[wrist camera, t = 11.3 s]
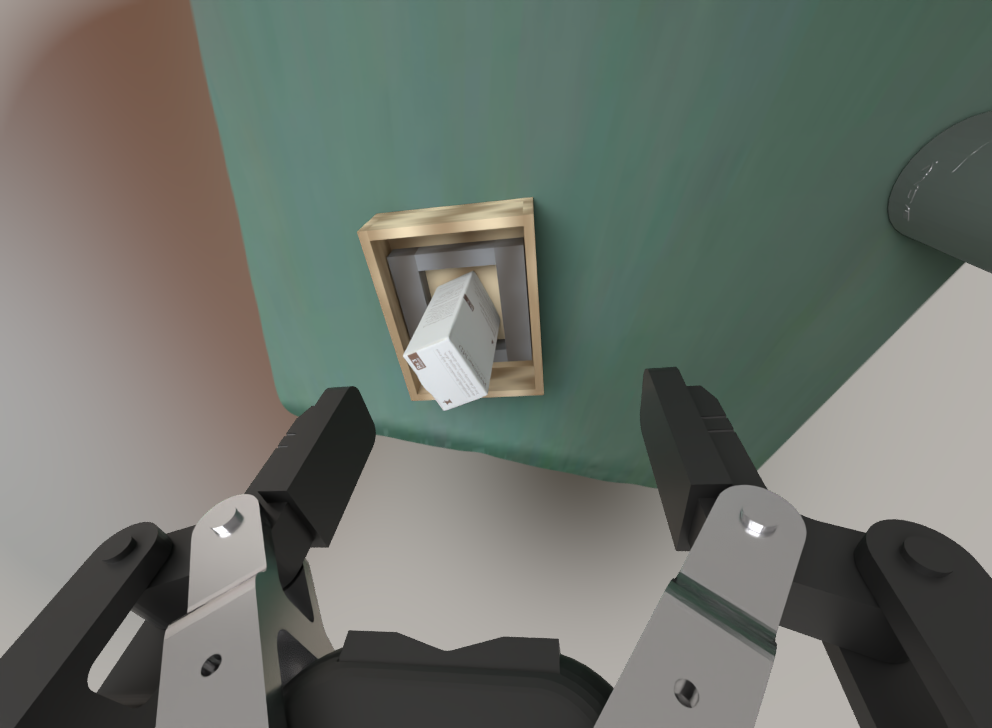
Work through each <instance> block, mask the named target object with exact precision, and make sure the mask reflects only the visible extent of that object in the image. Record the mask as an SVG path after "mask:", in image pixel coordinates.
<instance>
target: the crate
mask: <svg viewBox="0 0 992 728" xmlns="http://www.w3.org/2000/svg"><path fill="white" fill-rule="evenodd" d="M357 233H358V236H359V239H360V243H361V246H362V249H363V252H364V255H365V258H366V261H367V264H368V267H369V270H370V273H371V277H372V280H373V283H374V286H375V289H376V292H377V295H378V298H379V301H380V304H381V307H382V311H383V314H384V317H385V320H386V323H387V326H388V329H389V332H390V335H391V338H392V342H393V345H394V348H395V351H396V354H397V357H398V360H399V363H400V366H401V369H402V372H403V376H404V379H405V382H406V385H407V388H408V391H409V394H410V397H411V400H412V401H418V400H435V398H434V397H433V396H432V395H431V394H430V393H429V392H428V391H427V390H426V389H425V388H424V387H423V385H422V384H421V382H420V381H419V379H418V376H417V374H416V373H415V372H414V370H413V369H412V368H411V367H410V365H409V364H408V363H407V361H406V360H405V359H404V357H403V354H404V352H405V350H406V349H407V347H408V345H409V343H410V341H411V339H412V337H413V335H414V333H415V331H416V329H417V327H418V325H419V323H420V321H421V319H422V317H423V315H424V313H425V311H426V309H427V307H428V305H429V303H430V301H431V299H432V297H433V295H434V293H435V291H436V289H437V287H438V286H440V285H443V284H445V283H447V282H449V281H451V280H453V279H456V278H458V277H460V276H462V275H464V274H467V273H469V272H471V271H474V272H475V273H476V275H477V276H478V278H479V279H480V281H481V283H482V284H483V286H484V288H485V290H486V291H487V293H488V295H489V297H490V299H491V300H492V302H493V304H494V306H495V308H496V310H497V312H498V315H499V317H500V325H499V331H498V336H497V342H496V348H495V354H494V360H493V366H492V372H491V377H490V383H489V389H488V395H486V396H484V397H481V398H486V397H508V396H531V395H544V385H543V365H542V348H541V331H540V314H539V296H538V279H537V262H536V245H535V228H534V211H533V197H530V198H521V199H511V200H502V201H492V202H483V203H474V204H464V205H455V206H445V207H436V208H426V209H417V210H407V211H398V212H388V213H379V214H376V215H375V216H374V217H372V218H371V219H370V220H369V221H368V222H367V223H366V224H365V225H364V226H363V227H362V228H361V229H360V230H359V231H357Z"/></svg>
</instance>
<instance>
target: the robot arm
mask: <svg viewBox="0 0 992 728" xmlns="http://www.w3.org/2000/svg"><path fill="white" fill-rule="evenodd" d="M888 213H889V219H890V221H891V223H892V225H893V227H894V228H895V229H896V230H897V231H899V232H900V233H901V234H903V235H905V236H908V237H910V238H912V239H914V240H917V241H919V242H921V243H924V244H926V245H928V246H930V247H933V248H935V249H937V250H939V251H942V252H944V253H946V254H948V255H950V256H953V257H955V258H957V259H960V260H962V261H964V262H967V263H969V264H971V265H974V266H976V267H978V268H981V269H983V270H985V271H987V272H990V273H992V111H989V112H985V113H982V114H979V115H975V116H972V117H970V118H968V119H965V120H963V121H961V122H959V123H957V124H955V125H953V126H952V127H950V128H948V129H947V130H945V131H944V132H942V133H940V134H939V135H938V136H936V137H935V138H934V139H933V140H931V141H930V142H929V143H928V144H926V145H925V146H924V147H923V148H922V149H921V150H920V151H919V152H918V153H917V154H916V155H915V156H914V157H913V158H912V159H911V160H910V162H909V163H908V164H907V166H906V167H905V168H904V170H903V171H902V172H901V174H900V175H899V177H898V179H897V181H896V183H895V185H894V186H893V189H892V192H891V195H890V198H889V205H888ZM640 423H641V431H642V435H643V439H644V442H645V446H646V449H647V453H648V456H649V460H650V463H651V466H652V470H653V473H654V477H655V480H656V484H657V487H658V491H659V494H660V497H661V501H662V504H663V508H664V511H665V515H666V518H667V522H668V525H669V529H670V532H671V535H672V539H673V542H674V546H675V549H676V551H690V552H689V554H688V556H687V558H686V560H685V562H684V564H683V566H682V568H681V570H680V572H679V574H678V575H677V577H676V578H675V579H674V578H673V579H672V580H671V582H670V583H669V585H668V586H667V588H666V590H665V591H664V593H663V595H662V597H661V599H660V601H659V603H658V605H657V607H656V609H655V610H654V612H653V614H652V616H651V618H650V620H649V622H648V624H647V626H646V628H645V630H644V632H643V633H642V635H641V637H640V639H639V641H638V643H637V645H636V647H635V649H634V651H633V653H632V655H631V657H630V658H629V660H628V662H627V664H626V666H625V668H624V670H623V672H622V674H621V676H620V678H619V680H618V682H617V684H616V685H615V687H614V688H613V687H612V686H611V685H610V684H609V683H608V682H607V681H606V680H604V679H603V678H602V677H601V676H600V675H598V674H597V673H596V672H594V671H593V670H592V669H590V668H589V667H587V666H586V665H584V664H582V663H580V662H578V661H576V660H575V659H572V658H570V657H567V656H564V655H562V654H561V653H560V647H559V639H550V638H524V637H501V638H497V639H493V640H489V641H485V642H482V643H478V644H474V645H471V646H467V647H463V648H459V649H455V650H452V651H443V650H440V649H438V648H435V647H433V646H430V645H427V644H425V643H423V642H420V641H417V640H415V639H412V638H410V637H407V636H405V635H402V634H400V633H397V632H375V631H351V630H350V631H348V634H347V637H346V640H345V643H344V646H343V648H340V649H338V650H334V648H333V646H332V644H331V642H330V640H329V639H328V637H327V635H326V633H325V630H324V627H323V623H322V619H321V614H320V610H319V605H318V601H317V596H316V593H315V587H314V583H313V579H312V574H311V570H310V566H309V562H308V561H307V559H306V558H305V557H306V555H307V553H308V551H309V549H310V547H329V545H330V543H331V540H332V538H333V536H334V534H335V531H336V529H337V526H338V524H339V522H340V520H341V518H342V515H343V513H344V511H345V509H346V506H347V504H348V502H349V500H350V497H351V495H352V493H353V491H354V488H355V486H356V484H357V481H358V479H359V477H360V475H361V472H362V470H363V468H364V466H365V463H366V461H367V459H368V457H369V454H370V452H371V450H372V448H373V445H374V442H375V436H376V432H375V425H374V422H373V420H372V418H371V416H370V414H369V411H368V409H367V407H366V405H365V403H364V400H363V398H362V396H361V394H360V392H359V390H358V389H357V388H356V387H354V386H350V387H334V388H328V389H326V390H325V391H324V393H323V394H322V396H321V397H320V399H319V400H318V402H317V403H316V404H315V406H311V407H310V408H309V409H308V410H307V411H305V412H304V413H303V414H302V415H301V416H299V417H298V418H297V419H296V420H295V422H294V423H293V425H292V426H291V428H290V429H289V430H288V432H287V436H284V438H283V439H282V440H281V442H280V443H279V445H278V448H276V449H275V450H274V452H273V454H272V455H271V456H270V458H269V459H268V461H267V462H266V463H265V465H264V466H263V468H262V469H261V471H260V472H259V473H258V475H257V476H256V478H255V479H254V480H253V482H252V483H251V485H250V486H249V488H248V489H247V490H246V492H245V493H244V494H240V495H235V496H233V497H230V498H228V499H225V500H223V501H221V502H220V503H218V504H217V505H215V506H214V507H213V508H211V509H210V510H209V511H208V512H207V513H206V514H205V515H204V516H203V517H202V518H201V519H200V520H199V522H198V523H197V524H196V525H194V526H191V527H188V528H184V529H181V530H177V531H174V532H171V533H167V534H165V533H164V532H163V531H162V530H161V529H160V528H158V527H157V526H156V525H155V524H154V523H151V522H142V523H138V524H134V525H131V526H129V527H127V528H125V529H123V530H121V531H119V532H117V533H116V534H114V535H113V536H111V537H110V538H109V539H108V540H106V541H105V542H104V543H102V545H100V546H99V547H98V548H97V549H96V550H95V551H94V552H93V553H92V555H91V556H90V557H89V558H88V559H87V560H86V561H85V562H84V564H83V565H82V566H81V567H80V568H79V569H78V570H77V572H76V573H75V574H74V575H73V576H72V577H71V578H70V580H69V581H68V582H67V583H66V584H65V585H64V586H63V588H62V589H61V590H60V591H59V592H58V593H57V595H56V596H55V597H54V598H53V599H52V600H51V601H50V602H49V604H48V605H47V606H46V607H45V608H44V609H43V610H42V612H41V613H40V614H39V615H38V616H37V617H36V619H35V620H34V621H33V622H32V623H31V624H30V625H29V627H28V628H27V629H26V630H25V631H24V632H23V633H22V634H21V636H20V637H19V638H18V639H17V640H16V641H15V643H14V644H13V645H12V646H11V647H10V648H9V649H8V650H7V652H6V653H5V654H4V655H3V656H2V658H0V728H155V727H156V728H754V726H755V722H756V719H757V716H758V712H759V709H760V706H761V703H762V699H763V696H764V693H765V689H766V686H767V682H768V679H769V676H770V673H771V669H772V666H773V662H774V658H775V654H776V649H777V644H776V642H775V637H776V633H777V630H778V626H782V627H785V628H787V629H791V630H793V631H797V632H799V633H802V634H805V635H808V636H811V637H814V638H816V639H819V640H822V642H823V645H824V647H825V649H826V651H827V654H828V656H829V658H830V660H831V663H832V665H833V667H834V670H835V672H836V674H837V676H838V679H839V681H840V683H841V685H842V688H843V690H844V692H845V694H846V697H847V699H848V701H849V703H850V706H851V708H852V710H853V712H854V715H855V717H856V719H857V721H858V724H859V726H860V728H992V578H991V577H990V576H989V575H988V573H987V572H986V571H985V570H984V569H983V568H982V566H981V565H980V564H979V563H978V562H977V561H976V560H975V558H974V557H973V556H972V555H971V554H970V553H968V552H967V551H966V550H965V549H964V548H963V547H961V546H960V545H959V544H957V543H956V542H955V541H953V540H951V539H950V538H948V537H946V536H945V535H943V534H941V533H939V532H937V531H935V530H933V529H931V528H928V527H926V526H923V525H920V524H917V523H914V522H909V521H904V520H896V519H893V520H883V521H879V522H877V523H875V524H873V525H872V526H871V527H870V528H869V529H868V531H867V532H866V533H864V532H860V531H856V530H852V529H848V528H844V527H840V526H835V525H832V524H828V523H823V522H820V521H816V520H813V519H810V518H807V517H805V516H803V515H800V514H799V513H798V511H797V510H796V509H795V508H794V507H793V506H792V505H791V504H790V503H789V502H788V501H786V500H785V499H784V498H782V497H781V496H779V495H778V494H776V493H773V492H771V491H769V490H768V489H767V488H766V486H765V485H764V483H763V481H762V479H761V478H760V476H759V474H758V472H757V470H756V468H755V467H754V465H753V463H752V461H751V459H750V458H749V456H748V454H747V452H746V450H745V449H744V447H743V445H742V443H741V441H740V439H739V438H738V436H737V434H736V432H734V431H733V427H732V425H731V423H730V421H729V420H728V418H726V414H725V412H724V410H723V409H722V407H721V405H720V403H719V401H718V400H717V398H715V397H714V396H713V395H712V394H710V393H709V392H708V391H707V390H705V389H704V388H703V387H702V386H686V384H685V382H684V380H683V378H682V376H681V374H680V372H679V370H678V368H677V367H666V368H650V369H645V371H644V375H643V386H642V397H641V408H640ZM130 610H131V611H132V612H134V613H136V614H137V615H139V616H140V617H142V618H143V619H145V621H144V623H143V624H142V626H141V627H140V629H139V630H138V632H137V633H136V635H135V637H134V638H133V640H132V641H131V642H130V644H129V646H128V647H127V648H126V650H125V651H124V653H123V654H122V656H121V657H120V659H119V661H118V662H117V663H116V665H115V666H114V668H113V669H112V671H111V672H110V674H109V675H108V677H107V678H106V680H105V681H104V683H103V684H102V686H101V687H100V689H99V690H98V692H97V693H95V692H93V691H91V690H90V689H89V687H88V683H87V678H88V674H89V671H90V668H91V666H92V664H93V663H94V661H95V660H96V658H97V657H98V656H99V654H100V653H101V651H102V650H103V648H104V647H105V646H106V644H107V643H108V641H109V640H110V639H111V637H112V636H113V634H114V633H115V631H116V630H117V629H118V627H119V626H120V625H121V623H122V622H123V620H124V619H125V618H126V616H127V614H128V613H129V612H130Z"/></svg>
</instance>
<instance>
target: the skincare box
mask: <svg viewBox="0 0 992 728" xmlns="http://www.w3.org/2000/svg"><path fill="white" fill-rule="evenodd" d="M499 325H500V317H499V315H498V312H497V310H496V308H495V306H494V304H493V302H492V300H491V299H490V297H489V295H488V293H487V291H486V290H485V288H484V286H483V284H482V283H481V281H480V279H479V278H478V276H477V275H476V273H475V272H474V271H471V272H469V273H467V274H464V275H462V276H460V277H458V278H456V279H453V280H451V281H449V282H447V283H445V284H443V285H440V286H438V287H437V289H436V291H435V293H434V295H433V297H432V299H431V301H430V303H429V305H428V307H427V309H426V311H425V313H424V315H423V317H422V319H421V321H420V323H419V325H418V327H417V329H416V331H415V333H414V335H413V337H412V339H411V341H410V343H409V345H408V347H407V349H406V350H405V352H404V354H403V357H404V359H405V360H406V361H407V363H408V364H409V365H410V367H411V368H412V369H413V370H414V372H415V373H416V374H417V376H418V379H419V381H420V382H421V384H422V385H423V387H424V388H425V389H426V390H427V391H428V392H429V393H430V394H431V395H432V396H433V397H434V398H435V400H436V401H437V402H438V404H439V405H440V407H441V408H442V409H443V410H444V411H445V410H448V409H451V408H454V407H457V406H460V405H463V404H465V403H468V402H471V401H474V400H476V399H479V398H481V397H484V396H486V395H488V389H489V383H490V377H491V372H492V366H493V360H494V354H495V348H496V342H497V336H498V331H499Z"/></svg>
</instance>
